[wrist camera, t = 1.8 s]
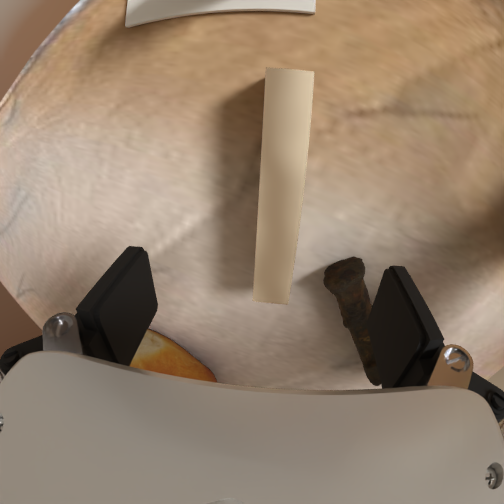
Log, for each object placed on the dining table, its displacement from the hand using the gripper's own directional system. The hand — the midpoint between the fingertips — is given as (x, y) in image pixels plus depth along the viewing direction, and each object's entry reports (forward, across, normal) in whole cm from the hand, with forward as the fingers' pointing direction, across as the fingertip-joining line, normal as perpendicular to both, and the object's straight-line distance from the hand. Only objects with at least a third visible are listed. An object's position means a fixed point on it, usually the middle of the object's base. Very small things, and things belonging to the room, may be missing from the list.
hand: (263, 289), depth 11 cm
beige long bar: (+15, -1, 0) cm, 15 cm away
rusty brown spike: (+15, -12, +15) cm, 24 cm away
